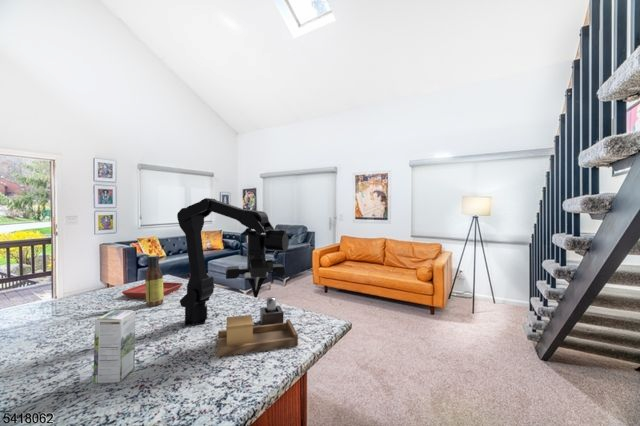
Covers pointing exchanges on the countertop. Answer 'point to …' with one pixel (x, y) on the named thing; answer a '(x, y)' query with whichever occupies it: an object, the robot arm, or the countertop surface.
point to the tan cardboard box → (239, 330)
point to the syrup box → (114, 346)
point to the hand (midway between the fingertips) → (255, 297)
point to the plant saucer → (141, 290)
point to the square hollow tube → (271, 316)
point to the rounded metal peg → (271, 304)
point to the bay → (260, 339)
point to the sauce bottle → (154, 282)
